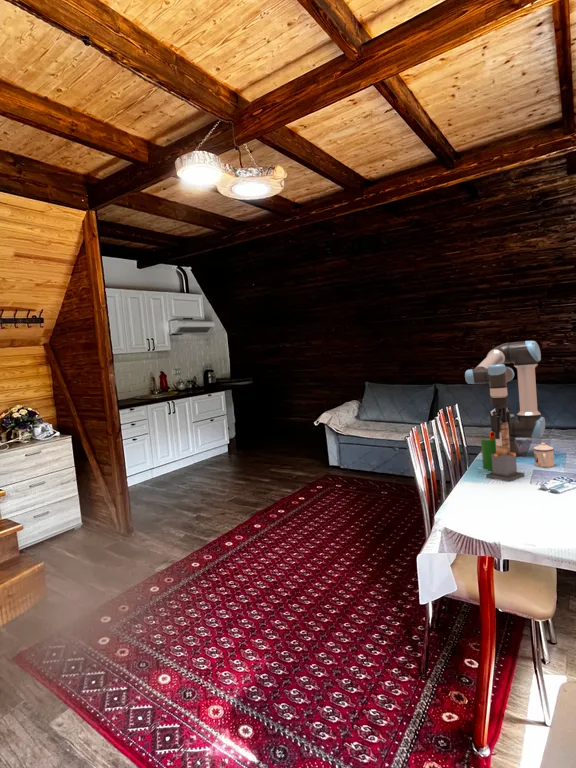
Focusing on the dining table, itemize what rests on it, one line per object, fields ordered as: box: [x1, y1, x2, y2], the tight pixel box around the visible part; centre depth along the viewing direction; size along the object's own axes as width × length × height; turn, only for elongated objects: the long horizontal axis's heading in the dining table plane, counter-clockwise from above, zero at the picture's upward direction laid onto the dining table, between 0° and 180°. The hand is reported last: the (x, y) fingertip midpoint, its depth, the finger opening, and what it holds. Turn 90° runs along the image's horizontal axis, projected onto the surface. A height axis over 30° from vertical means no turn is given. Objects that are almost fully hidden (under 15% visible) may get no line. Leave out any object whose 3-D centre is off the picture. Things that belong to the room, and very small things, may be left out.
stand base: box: [485, 452, 525, 483], centre depth 211 cm, size 12×12×12 cm
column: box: [495, 422, 510, 455], centre depth 210 cm, size 5×5×23 cm
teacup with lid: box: [533, 442, 555, 468], centre depth 223 cm, size 12×9×12 cm
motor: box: [480, 430, 496, 472], centre depth 226 cm, size 10×9×20 cm
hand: (502, 444), depth 210 cm, fingers closed on column, 5 cm apart
